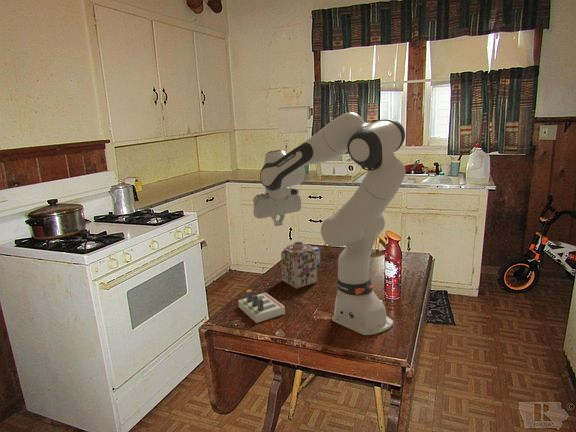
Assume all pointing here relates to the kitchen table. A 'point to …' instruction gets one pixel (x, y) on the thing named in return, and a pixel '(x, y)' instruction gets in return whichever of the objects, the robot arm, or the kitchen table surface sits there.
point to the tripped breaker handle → (249, 295)
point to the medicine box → (317, 254)
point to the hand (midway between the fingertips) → (278, 225)
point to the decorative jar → (299, 265)
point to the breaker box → (261, 307)
